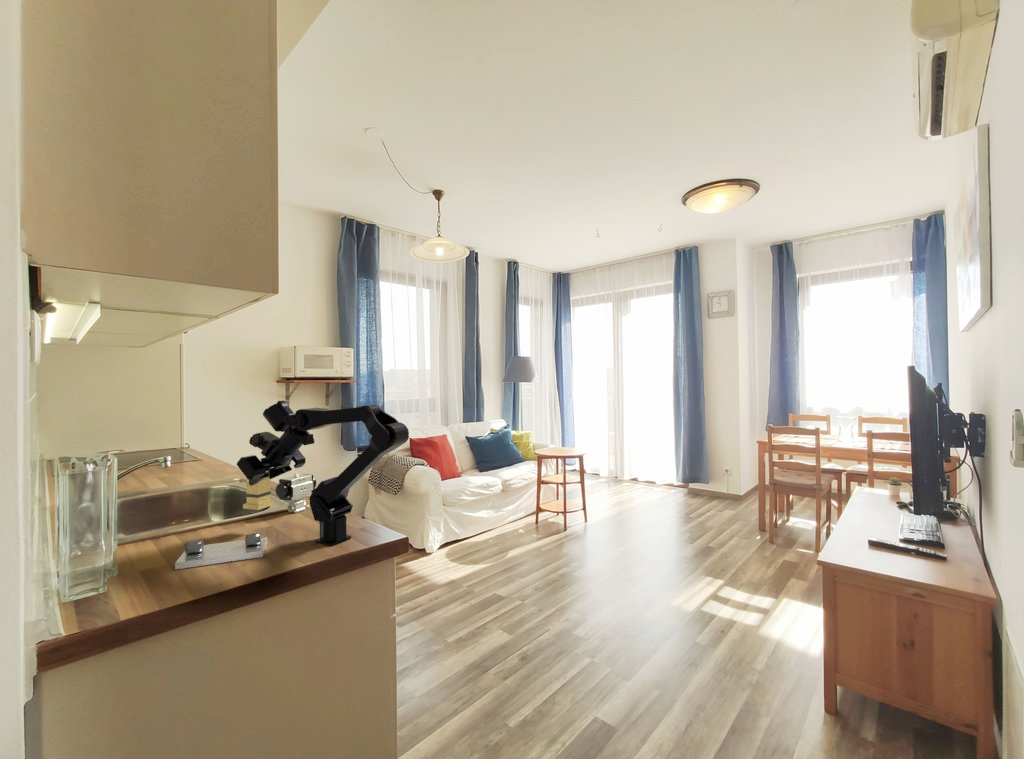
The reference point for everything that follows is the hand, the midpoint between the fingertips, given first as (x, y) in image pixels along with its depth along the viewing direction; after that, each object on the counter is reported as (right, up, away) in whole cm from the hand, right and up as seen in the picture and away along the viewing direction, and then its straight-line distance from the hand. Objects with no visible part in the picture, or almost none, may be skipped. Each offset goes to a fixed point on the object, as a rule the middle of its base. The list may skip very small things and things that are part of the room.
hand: (256, 482), depth 124 cm
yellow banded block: (+1, -7, 0) cm, 7 cm away
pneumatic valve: (+3, -14, +18) cm, 23 cm away
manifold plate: (+2, -14, -17) cm, 21 cm away
